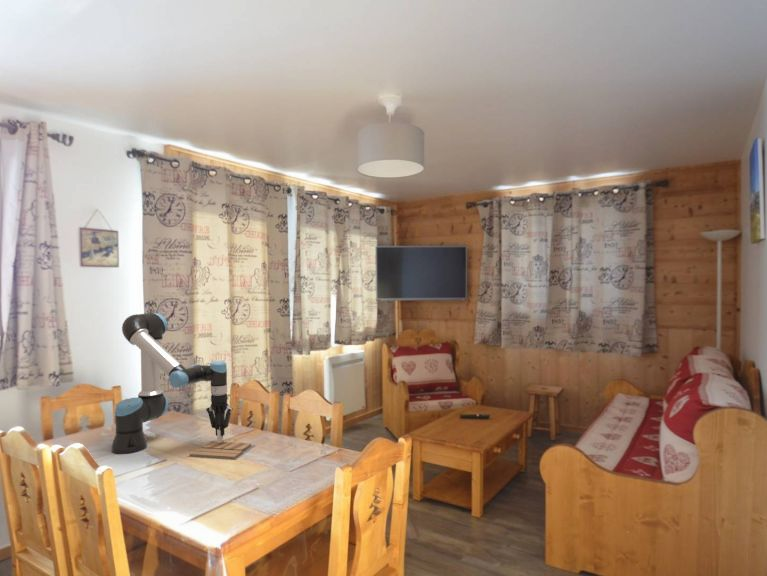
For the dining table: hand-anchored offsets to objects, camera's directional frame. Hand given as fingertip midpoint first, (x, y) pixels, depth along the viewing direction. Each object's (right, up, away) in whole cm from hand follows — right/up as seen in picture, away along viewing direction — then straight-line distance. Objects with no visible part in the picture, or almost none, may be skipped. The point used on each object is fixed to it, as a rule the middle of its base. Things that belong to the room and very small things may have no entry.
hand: (220, 442), depth 235 cm
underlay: (+4, -3, -8) cm, 9 cm away
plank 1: (-1, -1, -3) cm, 3 cm away
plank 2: (+9, -1, -5) cm, 11 cm away
